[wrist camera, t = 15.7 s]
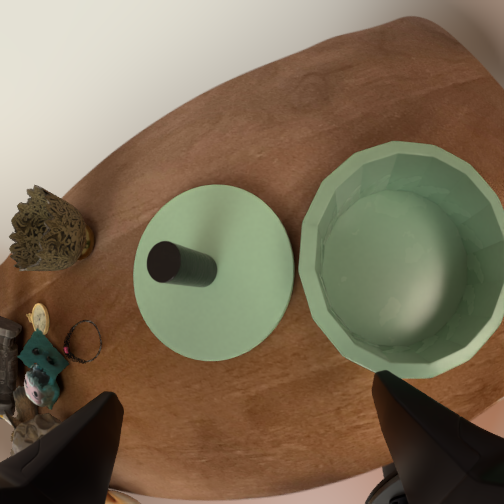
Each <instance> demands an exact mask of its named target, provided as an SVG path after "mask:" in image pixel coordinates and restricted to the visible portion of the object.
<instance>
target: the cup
mask: <svg viewBox="0 0 504 504" xmlns="http://www.w3.org/2000/svg"><path fill="white" fill-rule="evenodd" d="M27 194H28V195H29V196H31V198H29V199H28V202H27V203H22V202H21V203H19V204H18V205H17V207H18V210H19V212H18V213H16V214H15V216H14V217H13V219H12V220H11V222H12V225H13V227H14V229H15V232H16V233H12V234H11V235H10V236H9V238H10V239H12V240H13V241H15V242H17V243H14V244H12V245H11V247H10V251H11V253H13V255H11V256H10V257H11V258H12V259H14V260H15V261H16V262H18V263H17V264H16V265H14V266H15V267H17V268H20V270H19V271H56V270H62V269H66V268H68V267H70V266H71V265H73V264H74V263H75V262H76V261H77V260H82V259H85V258H87V257H88V256H89V255H90V253H91V252H92V250H93V246H94V234H93V231H92V230H91V228H90V227H89V226H88V225H86V224H85V222H84V219H83V217H82V215H81V214H80V212H79V211H78V210H77V209H76V208H75V207H73V206H72V205H71V204H69V203H68V202H66V201H64V200H63V199H61V198H59V197H57V196H56V195H54V194H52V193H50V192H48V191H47V190H45V189H43V188H41V187H39V186H37V185H34V188H33V189H27Z"/></svg>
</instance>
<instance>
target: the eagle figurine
mask: <svg viewBox="0 0 504 504" xmlns="http://www.w3.org/2000/svg"><path fill="white" fill-rule="evenodd" d="M13 395H14V400H15V406H16V410H17V412H18V415H17V417H15V418H14V417H12V416H11V415H9V414H8V413H7V412H6V411H5V410H4V409H3V410H4V413H5V414H4V415H0V417H2V418H3V419H4V420H5V421H7V422H8V423H10V425H12V427H13V428H14V430H15V429H16V428H17V426H18V425H19V424H21V423H22V422H26V421H28V420H31V419H34V418H35V416H36V415H38V409H37V405H36V404H35V403H33V402H32V401H31V400H30V399H29V398H28V397H27V395H26V392H25V387H24V386H23V387H21V386H18V388H16V391H14V392H13ZM13 436H14V431H13V433H12V436H11V441H13Z"/></svg>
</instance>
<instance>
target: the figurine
mask: <svg viewBox="0 0 504 504" xmlns="http://www.w3.org/2000/svg"><path fill="white" fill-rule="evenodd" d="M52 346H53V345H51V343H50V342H49V341H48V339H47V338H46V337H45V335H43V332H42V331H41V330H39V329H38V328H37V329H36V331H35V332H33V335H32V337H31V339H30V340H28V342H27V344H25V347H24V350H22V352H21V353H20V355H19V356H17V357H18V358H20V359H21V360H22V361H23V363H24V364H25V365H26V366H28V368H31V369H30V371H28V372H26V375H25V381H24V387H25V392H26V395H27V397H28V398H29V399H30V400H31V401H32V402H33V403H35V404H36V405H38V406H40V407H45V406H47V407H48V408H49V409H52V407H53V405H54V404H55V402H56V401H57V399H58V397H59V395H60V389H59V386H58V384H57V382H56V380H55V379H56V376H58V374H59V373H60V372H61V371H62V370H63V369H65V367H66V366H68V365H69V363H68V361H67V360H66V359H64V357H63V356H62V355H61V354H60V352H58V351H57V349H56V348H54V347H52ZM34 363H37V364H34Z"/></svg>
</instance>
